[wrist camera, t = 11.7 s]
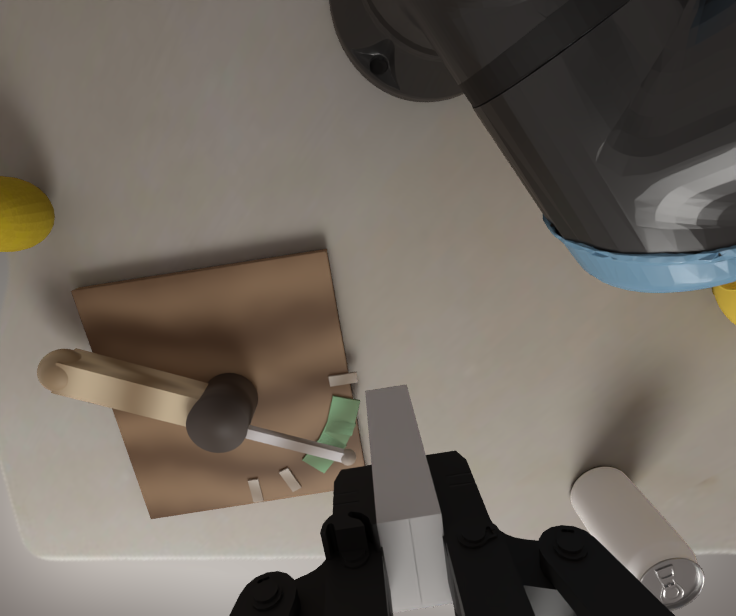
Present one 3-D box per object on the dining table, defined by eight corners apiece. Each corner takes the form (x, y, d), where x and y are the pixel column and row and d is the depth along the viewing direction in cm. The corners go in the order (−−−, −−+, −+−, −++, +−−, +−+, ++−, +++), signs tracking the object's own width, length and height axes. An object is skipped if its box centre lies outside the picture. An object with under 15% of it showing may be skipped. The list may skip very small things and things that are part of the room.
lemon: (33, 160, 39) (-44, 160, 31) (87, 212, 40) (27, 225, 33) (-11, 205, 40) (-95, 216, 32) (44, 255, 41) (-24, 277, 34)
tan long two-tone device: (55, 377, 43) (16, 406, 38) (62, 326, 42) (23, 350, 36) (346, 452, 47) (347, 487, 41) (363, 407, 45) (365, 439, 40)
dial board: (78, 287, 42) (69, 291, 41) (335, 247, 42) (335, 250, 41) (155, 510, 49) (150, 520, 48) (374, 476, 49) (375, 485, 48)
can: (578, 523, 52) (643, 626, 41) (560, 478, 50) (624, 572, 39) (634, 501, 52) (717, 599, 40) (619, 455, 50) (701, 543, 38)
